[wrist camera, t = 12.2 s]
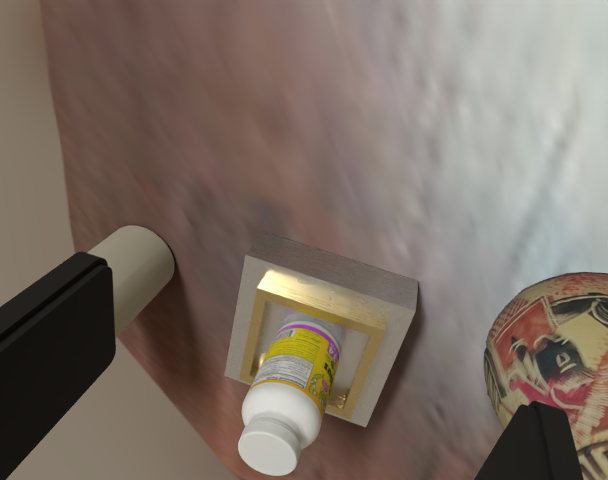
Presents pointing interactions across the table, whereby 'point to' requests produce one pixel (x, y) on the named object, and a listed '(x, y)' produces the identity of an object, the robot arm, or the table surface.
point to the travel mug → (135, 270)
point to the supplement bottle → (288, 397)
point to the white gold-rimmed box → (323, 316)
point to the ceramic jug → (556, 359)
